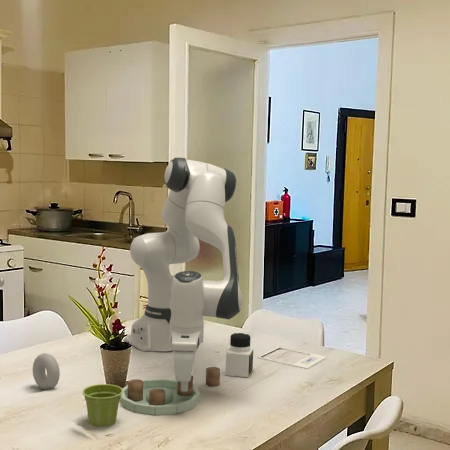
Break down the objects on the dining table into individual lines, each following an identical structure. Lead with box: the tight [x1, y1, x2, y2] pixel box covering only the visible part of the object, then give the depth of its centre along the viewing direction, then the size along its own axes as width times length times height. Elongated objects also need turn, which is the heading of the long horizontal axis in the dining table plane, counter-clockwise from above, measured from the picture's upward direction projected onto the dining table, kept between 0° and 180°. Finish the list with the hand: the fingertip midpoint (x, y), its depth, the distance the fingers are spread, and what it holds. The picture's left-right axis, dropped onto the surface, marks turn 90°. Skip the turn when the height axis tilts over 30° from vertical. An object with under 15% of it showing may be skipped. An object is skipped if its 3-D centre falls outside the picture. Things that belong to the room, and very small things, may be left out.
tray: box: [119, 378, 200, 416], centre depth 169 cm, size 20×20×3 cm
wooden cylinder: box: [205, 366, 221, 388], centre depth 185 cm, size 4×4×4 cm
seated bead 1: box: [127, 378, 143, 402], centre depth 169 cm, size 4×4×4 cm
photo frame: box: [256, 346, 328, 370], centre depth 212 cm, size 15×1×18 cm
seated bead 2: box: [149, 389, 165, 406], centre depth 163 cm, size 4×4×4 cm
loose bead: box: [177, 375, 194, 396], centre depth 169 cm, size 4×4×4 cm
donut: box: [32, 352, 61, 391], centre depth 177 cm, size 10×3×10 cm, turn 50°
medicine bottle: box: [225, 332, 254, 378], centre depth 195 cm, size 7×7×12 cm
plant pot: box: [82, 383, 123, 428], centre depth 154 cm, size 9×9×9 cm
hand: (185, 387), depth 169 cm, fingers closed on loose bead, 4 cm apart
